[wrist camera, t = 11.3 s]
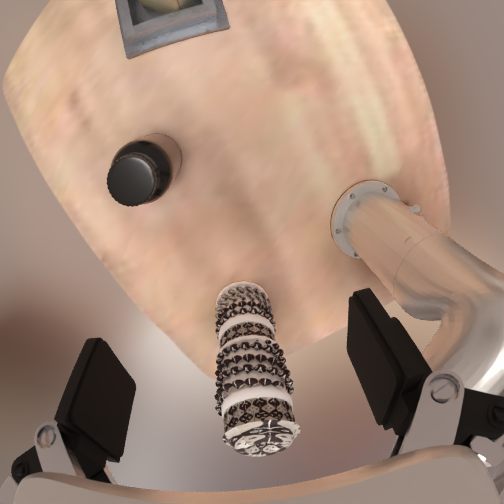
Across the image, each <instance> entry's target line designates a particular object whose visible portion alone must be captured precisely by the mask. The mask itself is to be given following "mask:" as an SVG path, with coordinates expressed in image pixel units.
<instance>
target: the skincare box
mask: <svg viewBox="0 0 504 504" xmlns="http://www.w3.org/2000/svg"><path fill="white" fill-rule="evenodd" d="M138 1H139V3H140V4H141V6H143V7H146V8H149V9H151V10H154V11H157V12H160V13H163V14H169V13H172V12H175V11H179V10H182V9H186V8H190V7H191V6H192V5H193V3H194V2H195V1H196V0H138Z"/></svg>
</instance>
